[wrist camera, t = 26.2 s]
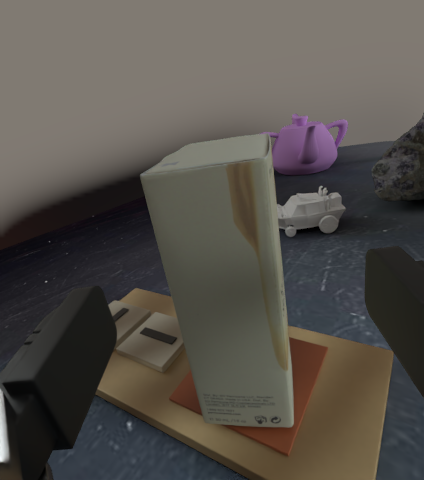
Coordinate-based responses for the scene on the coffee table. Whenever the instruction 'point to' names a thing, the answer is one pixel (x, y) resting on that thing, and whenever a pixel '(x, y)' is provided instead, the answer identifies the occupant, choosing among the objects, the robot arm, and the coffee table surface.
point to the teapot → (305, 146)
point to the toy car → (311, 212)
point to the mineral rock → (402, 168)
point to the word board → (246, 437)
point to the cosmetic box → (226, 276)
